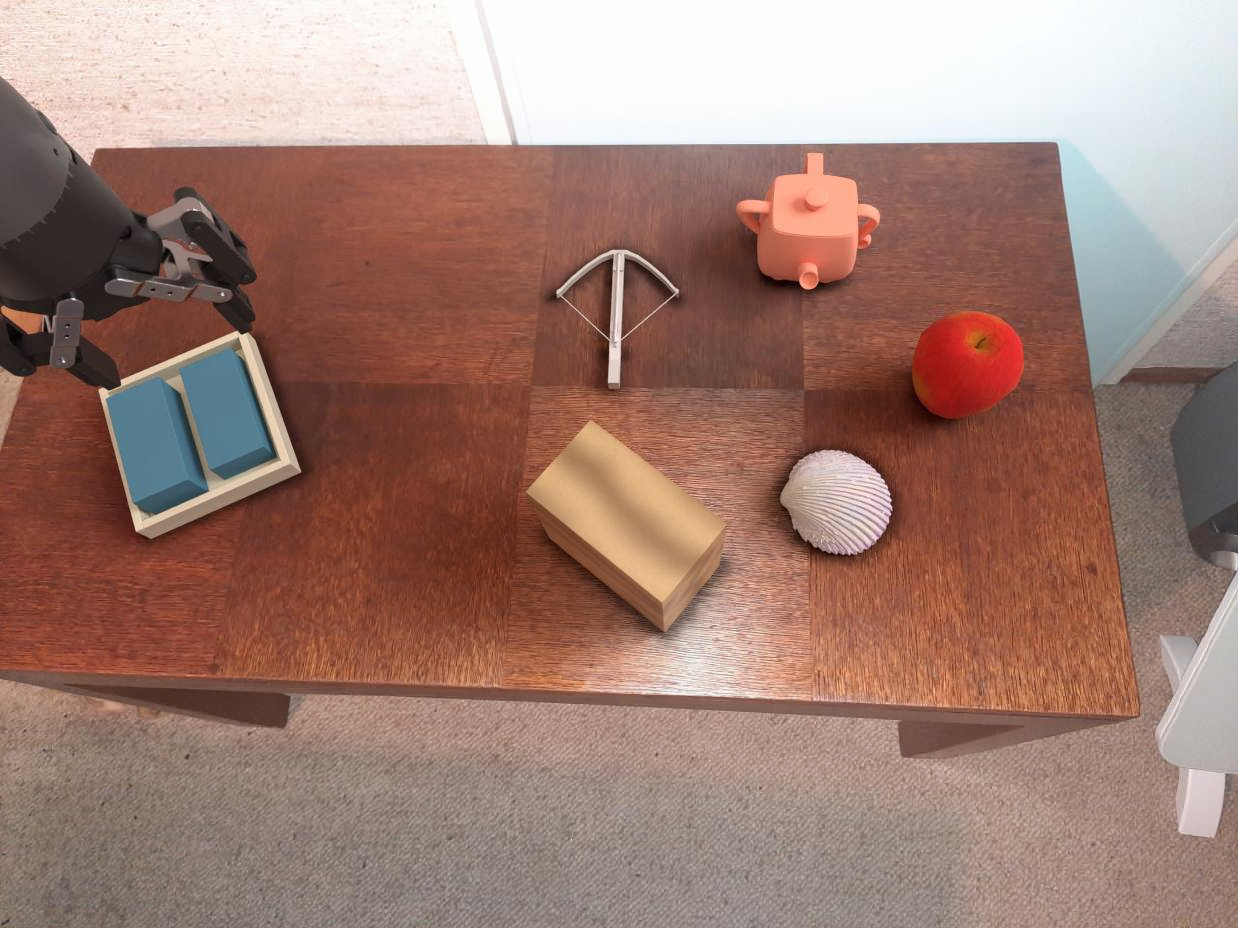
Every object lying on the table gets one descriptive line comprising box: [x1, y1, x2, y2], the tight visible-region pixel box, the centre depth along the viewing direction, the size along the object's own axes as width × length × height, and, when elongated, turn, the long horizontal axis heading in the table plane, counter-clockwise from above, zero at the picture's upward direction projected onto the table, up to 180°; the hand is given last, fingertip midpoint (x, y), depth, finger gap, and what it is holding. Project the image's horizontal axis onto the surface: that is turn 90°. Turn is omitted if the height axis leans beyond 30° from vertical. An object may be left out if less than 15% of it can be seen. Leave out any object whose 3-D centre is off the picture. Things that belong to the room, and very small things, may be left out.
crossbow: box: [556, 249, 680, 390], centre depth 88 cm, size 16×13×2 cm
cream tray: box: [98, 330, 302, 540], centre depth 86 cm, size 16×17×3 cm
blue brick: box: [179, 348, 277, 480], centre depth 85 cm, size 6×12×3 cm, turn 25°
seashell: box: [779, 449, 893, 556], centre depth 79 cm, size 10×6×10 cm
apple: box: [911, 310, 1025, 420], centre depth 78 cm, size 9×9×12 cm
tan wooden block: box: [525, 419, 728, 633], centre depth 73 cm, size 8×14×14 cm, turn 50°
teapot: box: [735, 152, 881, 290], centre depth 85 cm, size 12×12×10 cm
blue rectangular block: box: [106, 376, 209, 515], centre depth 84 cm, size 6×12×4 cm, turn 25°
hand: (179, 348), depth 53 cm, fingers open, 8 cm apart
